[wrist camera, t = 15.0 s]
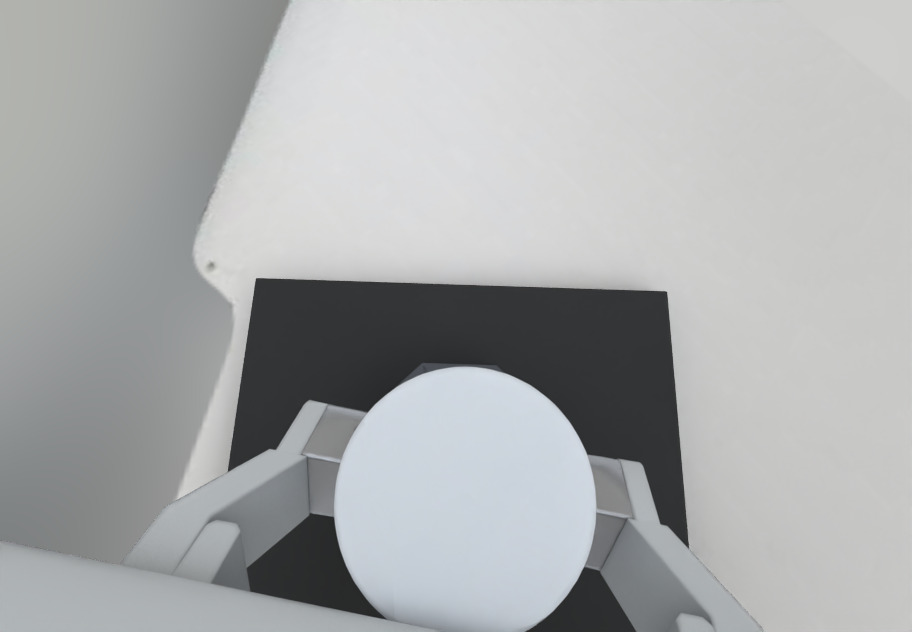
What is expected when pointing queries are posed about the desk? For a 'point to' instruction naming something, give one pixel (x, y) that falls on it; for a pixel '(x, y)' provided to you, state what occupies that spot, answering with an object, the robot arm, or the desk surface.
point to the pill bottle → (465, 503)
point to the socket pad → (459, 345)
